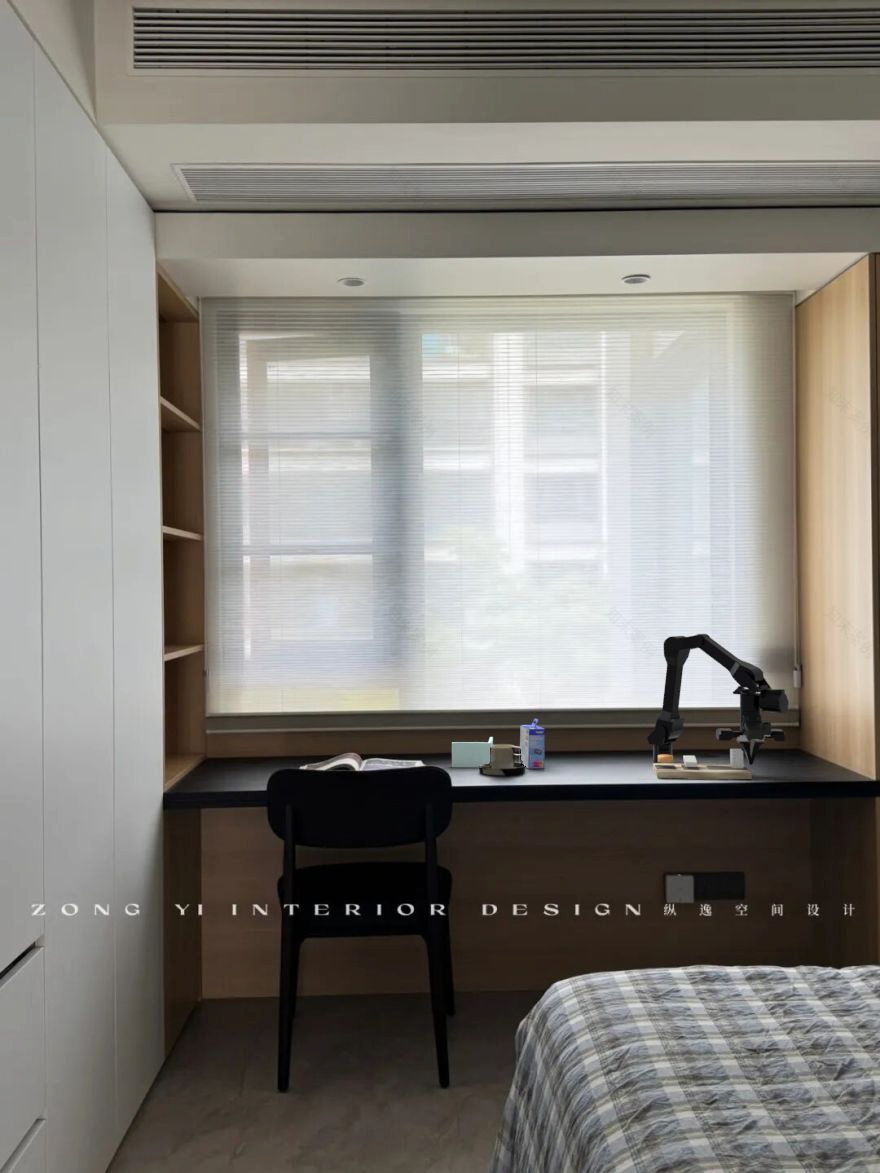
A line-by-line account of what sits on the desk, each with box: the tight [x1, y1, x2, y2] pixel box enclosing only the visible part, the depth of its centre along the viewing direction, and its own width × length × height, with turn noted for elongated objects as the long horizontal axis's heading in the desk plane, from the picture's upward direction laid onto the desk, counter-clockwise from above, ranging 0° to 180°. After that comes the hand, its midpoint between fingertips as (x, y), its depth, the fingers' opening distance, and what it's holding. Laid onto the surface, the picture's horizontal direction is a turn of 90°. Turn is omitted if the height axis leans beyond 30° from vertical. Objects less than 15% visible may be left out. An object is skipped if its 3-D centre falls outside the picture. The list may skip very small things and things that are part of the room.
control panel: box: [652, 762, 753, 780], centre depth 282 cm, size 14×26×2 cm, turn 83°
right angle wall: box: [451, 736, 494, 768], centre depth 304 cm, size 12×12×8 cm
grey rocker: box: [682, 755, 698, 767], centre depth 283 cm, size 6×3×1 cm, turn 173°
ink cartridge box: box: [519, 718, 546, 770], centre depth 298 cm, size 10×6×14 cm, turn 11°
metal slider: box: [729, 748, 744, 769], centre depth 281 cm, size 4×3×5 cm
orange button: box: [658, 754, 674, 763], centre depth 284 cm, size 4×4×2 cm
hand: (750, 764), depth 281 cm, fingers closed
